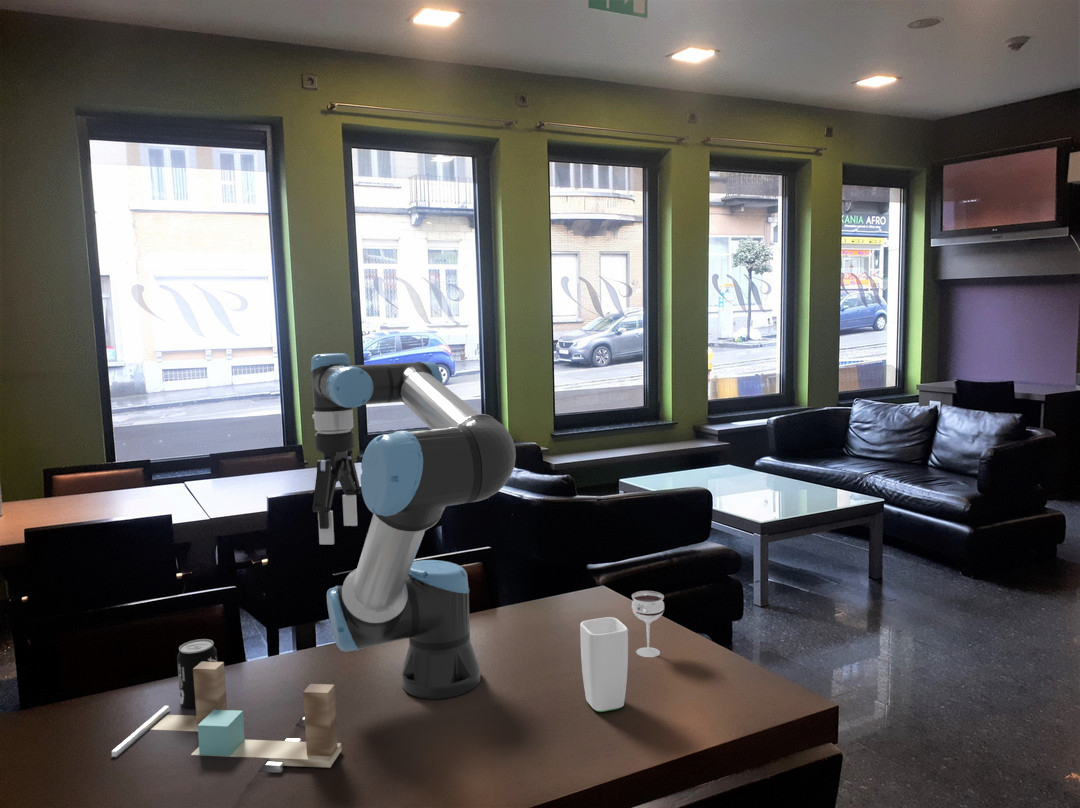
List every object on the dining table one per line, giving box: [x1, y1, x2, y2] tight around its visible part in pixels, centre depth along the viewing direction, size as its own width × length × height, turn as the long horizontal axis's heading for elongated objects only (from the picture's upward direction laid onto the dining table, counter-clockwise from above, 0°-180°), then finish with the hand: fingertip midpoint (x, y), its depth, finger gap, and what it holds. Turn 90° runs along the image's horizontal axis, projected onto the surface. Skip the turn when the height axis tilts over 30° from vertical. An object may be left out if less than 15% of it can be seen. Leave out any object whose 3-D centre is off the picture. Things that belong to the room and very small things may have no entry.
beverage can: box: [176, 638, 218, 711], centre depth 143 cm, size 7×7×12 cm
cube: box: [197, 709, 246, 757], centre depth 127 cm, size 5×5×5 cm
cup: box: [579, 616, 629, 713], centre depth 141 cm, size 7×7×15 cm
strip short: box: [149, 661, 228, 733], centre depth 135 cm, size 12×5×12 cm, turn 84°
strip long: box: [190, 683, 343, 769], centre depth 126 cm, size 23×5×12 cm, turn 84°
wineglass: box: [631, 590, 665, 658], centre depth 163 cm, size 7×7×12 cm
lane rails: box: [111, 705, 305, 773], centre depth 131 cm, size 28×15×2 cm, turn 84°
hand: (339, 534), depth 160 cm, fingers open, 13 cm apart
